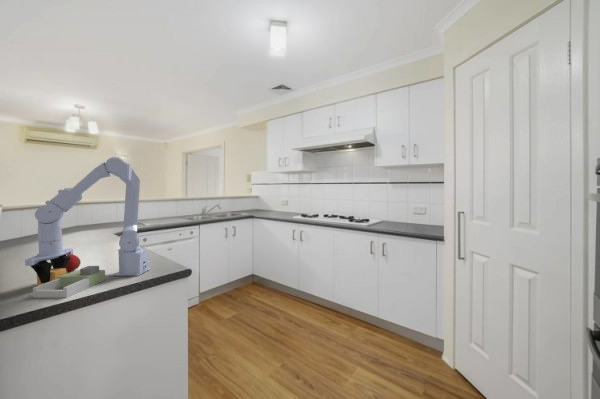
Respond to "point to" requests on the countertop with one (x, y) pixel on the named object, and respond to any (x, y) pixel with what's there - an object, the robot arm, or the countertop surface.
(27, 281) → the countertop surface
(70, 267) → the onion
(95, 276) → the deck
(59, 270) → the orange block
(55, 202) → the robot arm
